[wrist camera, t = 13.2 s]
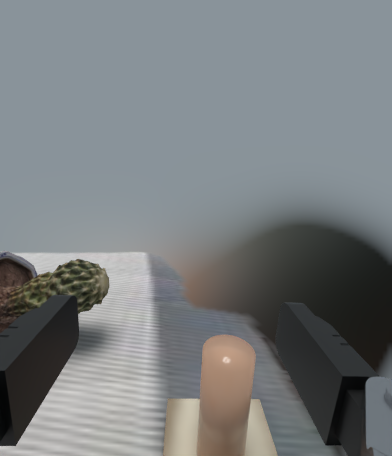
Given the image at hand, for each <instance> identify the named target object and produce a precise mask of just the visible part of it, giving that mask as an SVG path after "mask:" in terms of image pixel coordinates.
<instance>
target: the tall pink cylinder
mask: <svg viewBox="0 0 392 456" xmlns="http://www.w3.org/2000/svg"><path fill="white" fill-rule="evenodd" d="M255 358H256V356H255V352H254V350H253V348H252V347H251V346H250V344H248V343H247V342H246V341H244V340H243V339H241V338H238V337H235V336H231V335H217V336H214V337H211V338H210V339H208V340H207V341H206V342H205V344H204V346H203V354H202V370H201V386H200V402H199V419H198V435H197V456H245V447H246V438H247V429H248V420H249V412H250V403H251V394H252V385H253V376H254V367H255Z"/></svg>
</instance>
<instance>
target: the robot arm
mask: <svg viewBox="0 0 392 456" xmlns="http://www.w3.org/2000/svg"><path fill="white" fill-rule="evenodd" d="M78 337H79V323H78V305H77V298H76V296H74V295H52V296H51V297H50V298H49V299H48V300H47V301H45V302H44V303H43V304H42V305H41V306H40V307H39V308H34V309H32V310H30V311H29V312H27V313H25V314H23V315H21V316H19V317H18V318H17V319H16V320H15V321H14V322H13V323H12V324H10V325H9V326H8V329H5V330H4V331H3V332H1V333H0V446H16V444H17V443H18V441H19V439H20V438H21V436H22V435H23V433H24V431H25V430H26V428H27V426H28V425H29V423H30V421H31V420H32V418H33V417H34V415H35V413H36V412H37V410H38V408H39V407H40V405H41V403H42V402H43V400H44V399H45V397H46V395H47V394H48V392H49V390H50V389H51V387H52V385H53V384H54V382H55V381H56V379H57V377H58V376H59V374H60V372H61V371H62V369H63V367H64V366H65V364H66V363H67V361H68V359H69V358H70V356H71V354H72V353H73V351H74V349H75V347H76V345H77V342H78ZM276 347H277V351H278V354H279V356H280V358H281V360H282V362H283V364H284V366H285V368H286V369H287V371H288V373H289V375H290V377H291V379H292V381H293V383H294V385H295V387H296V389H297V391H298V393H299V395H300V397H301V399H302V401H303V402H304V404H305V406H306V408H307V410H308V412H309V414H310V416H311V418H312V420H313V422H314V424H315V426H316V428H317V430H318V432H319V434H320V436H321V437H322V439H323V441H324V443H325V445H342V446H343V448H344V450H345V452H346V453H347V454H346V456H392V379H388V378H384V377H379V375H377V374H376V373H375V371H374V370H373V369H372V368H371V367H370V366H369V365H368V364H367V363H366V362H365V361H364V360H363V359H362V358H361V357H360V355H358V354H357V352H356V351H355V350H354V349H353V348H352V347H351V346H349V345H348V343H347V342H346V341H345V340H344V339H343V338H342V337H340V334H339V333H338V332H337V331H336V330H335V329H334V328H333V327H332V326H331V325H330V324H328V323H327V322H325V321H324V320H322V319H321V318H319V317H315V316H314V314H313V313H312V312H311V311H310V310H309V309H308V308H307V307H306V306H305V305H304V304H303V303H283V304H282V305H281V308H280V314H279V321H278V326H277V332H276Z"/></svg>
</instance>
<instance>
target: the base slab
mask: <svg viewBox="0 0 392 456" xmlns="http://www.w3.org/2000/svg"><path fill="white" fill-rule="evenodd" d="M199 402H200V399H168V404H167V415H166V427H165V438H164V450H163V456H197V435H198V419H199ZM245 456H278V455H277V452H276V449H275V446H274V443H273V440H272V436H271V433H270V430H269V427H268V424H267V421H266V418H265V415H264V412H263V409H262V406H261V403H260V400H259V399H251V403H250V412H249V420H248V429H247V438H246V447H245Z"/></svg>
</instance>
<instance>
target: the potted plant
mask: <svg viewBox="0 0 392 456" xmlns="http://www.w3.org/2000/svg"><path fill="white" fill-rule="evenodd" d="M108 289H109V277H108V276H107V274H106V271H105V268H103V269H101V268H100V266H99V264H94V263H90V262H88V261H84V260H81V259H77V260H76V261H72V260H71V261H70V262H69V263H65V264H63V265H59V266H58V267H57V269H56V270H55V271H54V273H50V272H47V273H45V274H40V275H37V273H36V271H35V268H34V266H33V265H32V264H31V263H30V262H28V261H27V260H25V259H24V258H22V257H20V256H17V255H15V254H12V253H10V252H8V251H2V252H0V333H1V332H3V331H4V330H5V329H8V326H9V325H10V324H12V323H13V322H14V321H15V320H16V319H17V318H18V317H19V316H21V315H23V314H25V313H27V312H29V311H30V310H32V309H34V308H39V307H40V306H41V305H42V304H43V303H44V302H45V301H47V300H48V299H49V298H50V297H51V296H52V295H74V296H76V298H77V305H78V314H79V313H80V312H83V311H89V310H91V308H92V307H93V305H94V304H101V303H102V299H103V298H104V297H105V296H106V295H107V293H108Z"/></svg>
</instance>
